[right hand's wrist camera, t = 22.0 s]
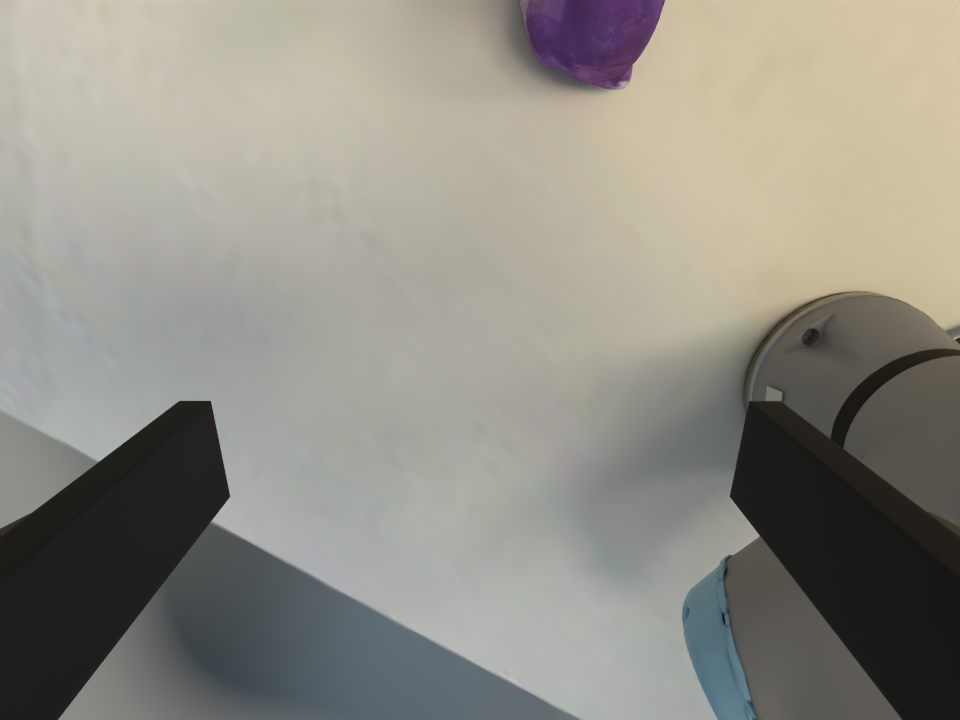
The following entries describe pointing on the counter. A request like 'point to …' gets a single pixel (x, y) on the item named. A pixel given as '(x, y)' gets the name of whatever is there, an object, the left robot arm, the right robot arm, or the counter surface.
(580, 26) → the figurine
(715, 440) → the counter surface
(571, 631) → the counter surface
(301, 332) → the counter surface
